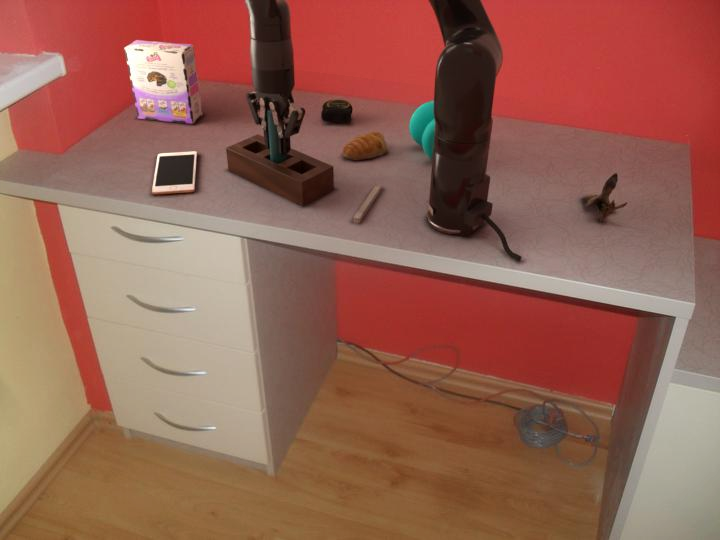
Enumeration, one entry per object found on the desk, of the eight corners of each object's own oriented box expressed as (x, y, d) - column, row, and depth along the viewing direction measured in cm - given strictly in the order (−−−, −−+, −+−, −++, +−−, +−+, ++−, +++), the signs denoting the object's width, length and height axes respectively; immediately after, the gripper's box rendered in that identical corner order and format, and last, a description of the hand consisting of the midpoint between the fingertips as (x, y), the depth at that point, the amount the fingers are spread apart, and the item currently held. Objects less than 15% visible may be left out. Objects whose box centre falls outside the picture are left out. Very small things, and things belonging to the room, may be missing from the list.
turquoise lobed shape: (449, 139, 152) (453, 95, 146) (468, 160, 145) (473, 114, 139) (406, 145, 150) (408, 101, 144) (423, 166, 142) (426, 120, 136)
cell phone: (152, 195, 132) (151, 192, 131) (158, 156, 144) (157, 153, 144) (194, 192, 133) (194, 189, 132) (197, 153, 145) (196, 151, 145)
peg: (290, 171, 136) (286, 108, 129) (278, 177, 134) (274, 113, 127) (279, 166, 138) (275, 103, 130) (268, 172, 136) (263, 108, 128)
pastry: (355, 166, 142) (355, 148, 140) (335, 154, 146) (334, 137, 144) (390, 153, 147) (390, 136, 145) (369, 142, 151) (370, 125, 149)
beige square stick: (375, 189, 135) (375, 185, 134) (381, 190, 134) (381, 186, 134) (353, 222, 125) (353, 217, 124) (359, 223, 125) (359, 218, 124)
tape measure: (320, 125, 158) (320, 109, 155) (324, 113, 163) (324, 97, 161) (350, 126, 157) (350, 111, 155) (354, 114, 163) (354, 99, 160)
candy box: (203, 114, 162) (194, 43, 152) (193, 125, 157) (183, 52, 147) (148, 108, 164) (136, 38, 154) (136, 119, 159) (122, 46, 150)
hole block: (259, 156, 145) (257, 133, 142) (333, 189, 134) (333, 166, 131) (228, 170, 140) (225, 147, 137) (303, 206, 129) (301, 182, 126)
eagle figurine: (635, 218, 125) (624, 185, 131) (621, 191, 120) (611, 159, 127) (592, 234, 128) (584, 201, 134) (578, 208, 124) (571, 176, 130)
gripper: (229, 57, 125) (238, 146, 135) (285, 76, 117) (289, 169, 127) (260, 46, 129) (266, 133, 139) (316, 65, 122) (318, 155, 132)
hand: (277, 150), depth 133 cm, fingers closed on peg, 3 cm apart
